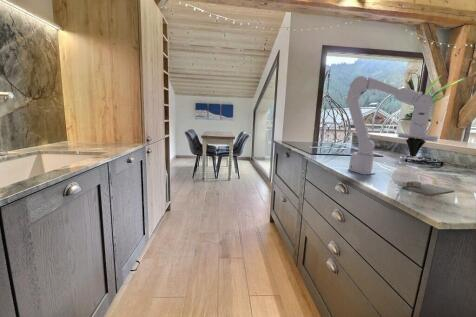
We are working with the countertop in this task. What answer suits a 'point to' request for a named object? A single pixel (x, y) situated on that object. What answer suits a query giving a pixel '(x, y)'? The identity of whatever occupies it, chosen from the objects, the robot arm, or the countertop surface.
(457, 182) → the countertop surface
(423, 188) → the mat
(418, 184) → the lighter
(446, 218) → the countertop surface
